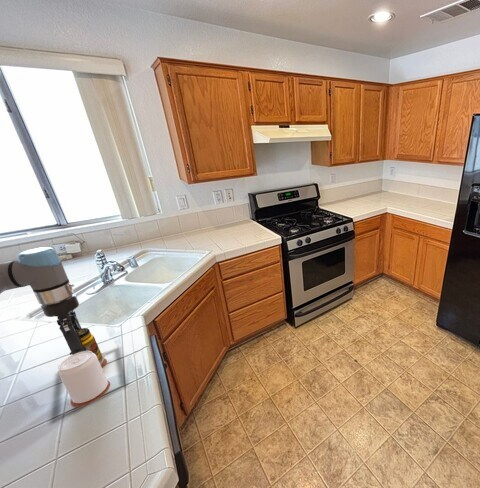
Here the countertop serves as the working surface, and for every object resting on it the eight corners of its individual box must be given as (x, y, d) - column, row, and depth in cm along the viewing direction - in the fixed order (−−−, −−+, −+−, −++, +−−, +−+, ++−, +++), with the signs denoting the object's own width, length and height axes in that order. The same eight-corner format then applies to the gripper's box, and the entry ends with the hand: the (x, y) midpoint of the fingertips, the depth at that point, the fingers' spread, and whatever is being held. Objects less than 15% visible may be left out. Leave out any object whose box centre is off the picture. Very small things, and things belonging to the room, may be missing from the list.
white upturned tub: (66, 400, 74) (49, 367, 70) (98, 378, 81) (84, 346, 77) (83, 408, 71) (66, 374, 67) (114, 385, 78) (101, 353, 74)
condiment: (101, 366, 84) (87, 335, 80) (67, 376, 81) (51, 345, 77) (107, 352, 90) (95, 322, 86) (75, 361, 87) (61, 331, 83)
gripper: (74, 305, 73) (103, 370, 80) (75, 284, 86) (99, 341, 94) (36, 317, 68) (70, 385, 76) (43, 292, 82) (72, 352, 89)
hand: (86, 360), depth 85 cm, fingers closed on condiment, 6 cm apart
